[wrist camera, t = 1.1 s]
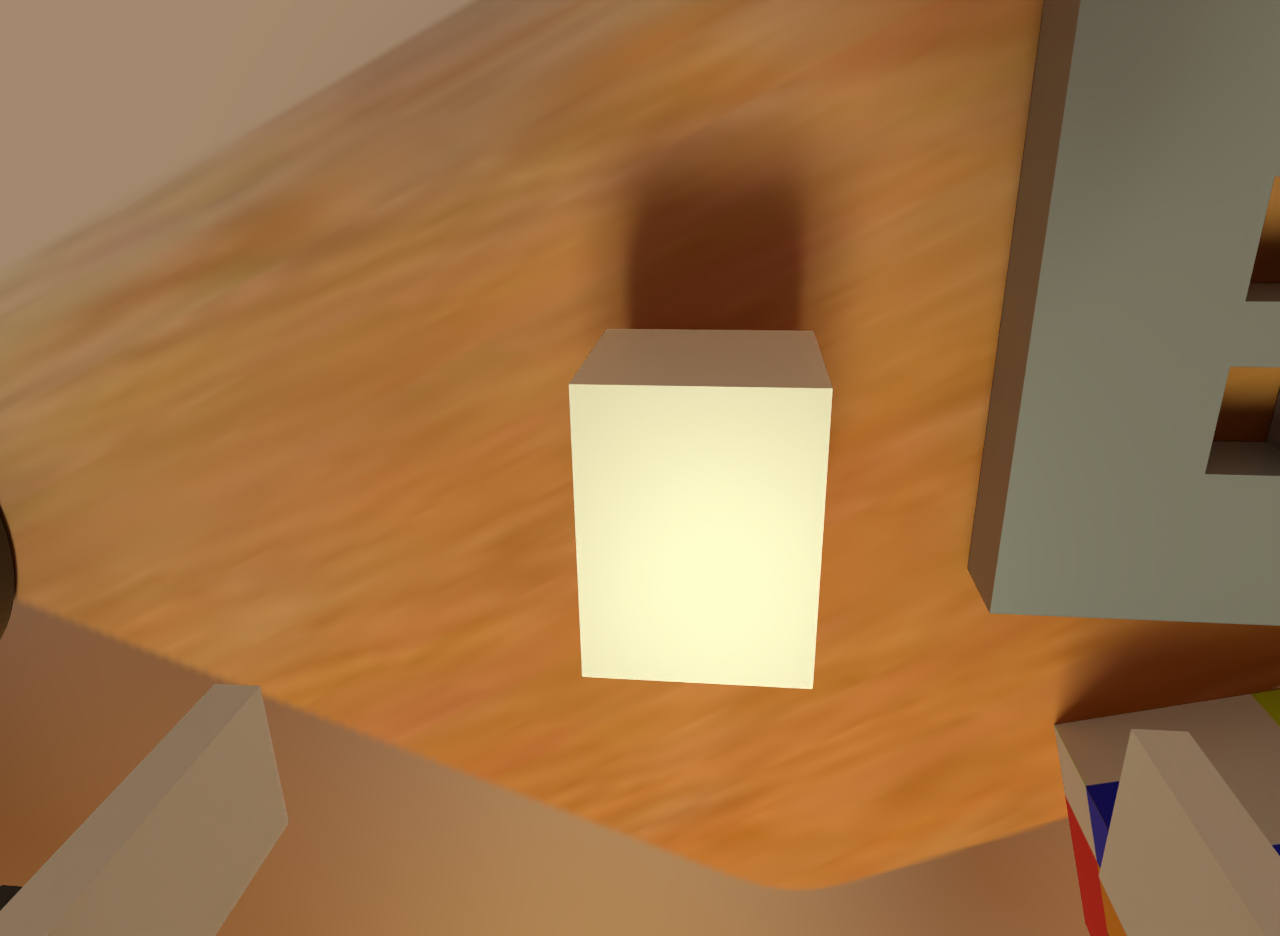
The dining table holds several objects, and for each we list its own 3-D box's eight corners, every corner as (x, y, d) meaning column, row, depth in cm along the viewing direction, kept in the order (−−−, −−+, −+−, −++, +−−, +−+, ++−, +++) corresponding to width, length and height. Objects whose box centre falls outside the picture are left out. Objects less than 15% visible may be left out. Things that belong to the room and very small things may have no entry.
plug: (625, 531, 31) (582, 676, 23) (620, 309, 29) (569, 384, 20) (794, 537, 31) (812, 689, 22) (806, 310, 28) (832, 388, 20)
